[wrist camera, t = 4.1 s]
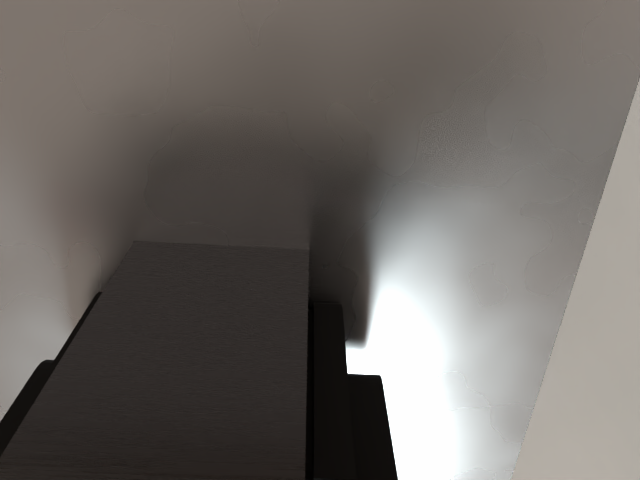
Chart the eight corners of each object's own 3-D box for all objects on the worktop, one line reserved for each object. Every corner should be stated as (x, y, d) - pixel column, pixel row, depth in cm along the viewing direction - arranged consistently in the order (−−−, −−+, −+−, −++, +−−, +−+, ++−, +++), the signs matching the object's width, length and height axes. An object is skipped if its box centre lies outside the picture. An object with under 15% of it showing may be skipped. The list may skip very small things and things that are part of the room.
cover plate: (647, -68, 8) (1213, -97, 3) (461, 568, 15) (539, 891, 10) (-219, -136, 8) (-1295, -310, 3) (-5, 552, 15) (-182, 884, 10)
